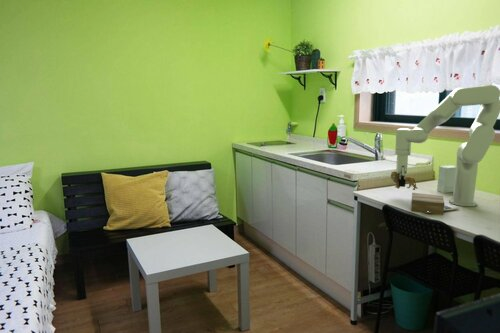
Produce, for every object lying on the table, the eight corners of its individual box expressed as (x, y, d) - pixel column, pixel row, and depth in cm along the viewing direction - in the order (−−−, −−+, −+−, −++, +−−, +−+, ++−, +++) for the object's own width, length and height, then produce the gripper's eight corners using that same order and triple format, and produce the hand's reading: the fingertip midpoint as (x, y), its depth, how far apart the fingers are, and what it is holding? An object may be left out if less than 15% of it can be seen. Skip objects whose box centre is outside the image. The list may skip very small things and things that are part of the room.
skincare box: (448, 189, 226) (451, 164, 223) (456, 192, 220) (459, 166, 217) (436, 190, 224) (438, 165, 221) (443, 193, 219) (446, 167, 216)
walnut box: (411, 203, 199) (412, 192, 198) (441, 207, 194) (442, 195, 193) (410, 211, 187) (412, 199, 186) (443, 215, 181) (444, 203, 180)
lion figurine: (390, 188, 206) (392, 171, 205) (388, 186, 211) (389, 170, 210) (419, 190, 205) (421, 173, 203) (415, 188, 210) (417, 172, 209)
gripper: (394, 149, 214) (393, 181, 217) (396, 154, 198) (394, 189, 201) (409, 149, 211) (407, 182, 215) (412, 154, 196) (410, 189, 199)
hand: (401, 185), depth 208 cm, fingers closed on lion figurine, 4 cm apart
